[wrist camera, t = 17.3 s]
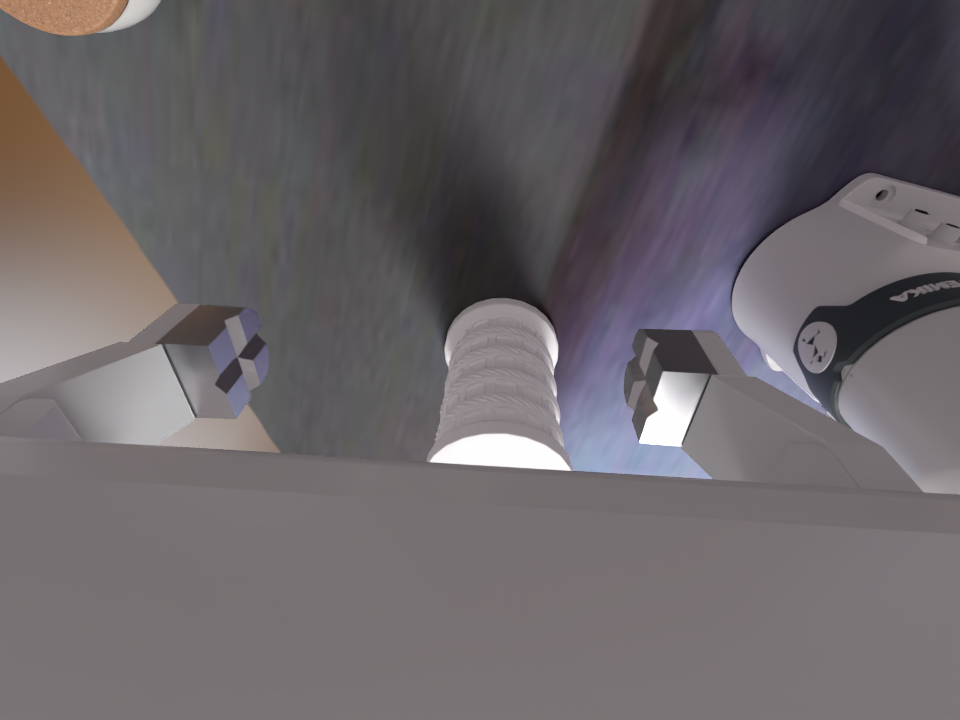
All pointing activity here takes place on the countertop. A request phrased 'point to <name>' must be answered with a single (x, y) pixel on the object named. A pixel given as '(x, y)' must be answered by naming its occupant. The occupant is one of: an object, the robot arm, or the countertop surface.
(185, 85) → the countertop surface
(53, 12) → the lidded jar
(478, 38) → the countertop surface
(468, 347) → the decorative container
